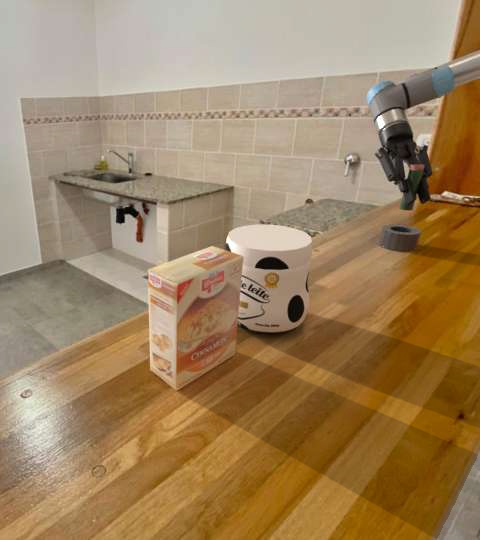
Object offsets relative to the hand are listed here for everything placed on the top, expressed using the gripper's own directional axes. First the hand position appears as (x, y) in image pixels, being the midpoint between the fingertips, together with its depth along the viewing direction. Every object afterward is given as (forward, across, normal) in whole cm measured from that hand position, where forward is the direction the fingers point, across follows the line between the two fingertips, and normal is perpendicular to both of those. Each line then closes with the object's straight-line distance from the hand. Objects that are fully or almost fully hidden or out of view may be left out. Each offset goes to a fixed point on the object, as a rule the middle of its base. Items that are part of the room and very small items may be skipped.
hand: (418, 201), depth 101 cm
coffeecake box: (+42, +66, +22) cm, 82 cm away
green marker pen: (-1, 0, -5) cm, 5 cm away
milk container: (+33, +50, +12) cm, 61 cm away
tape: (+7, 0, -13) cm, 15 cm away
